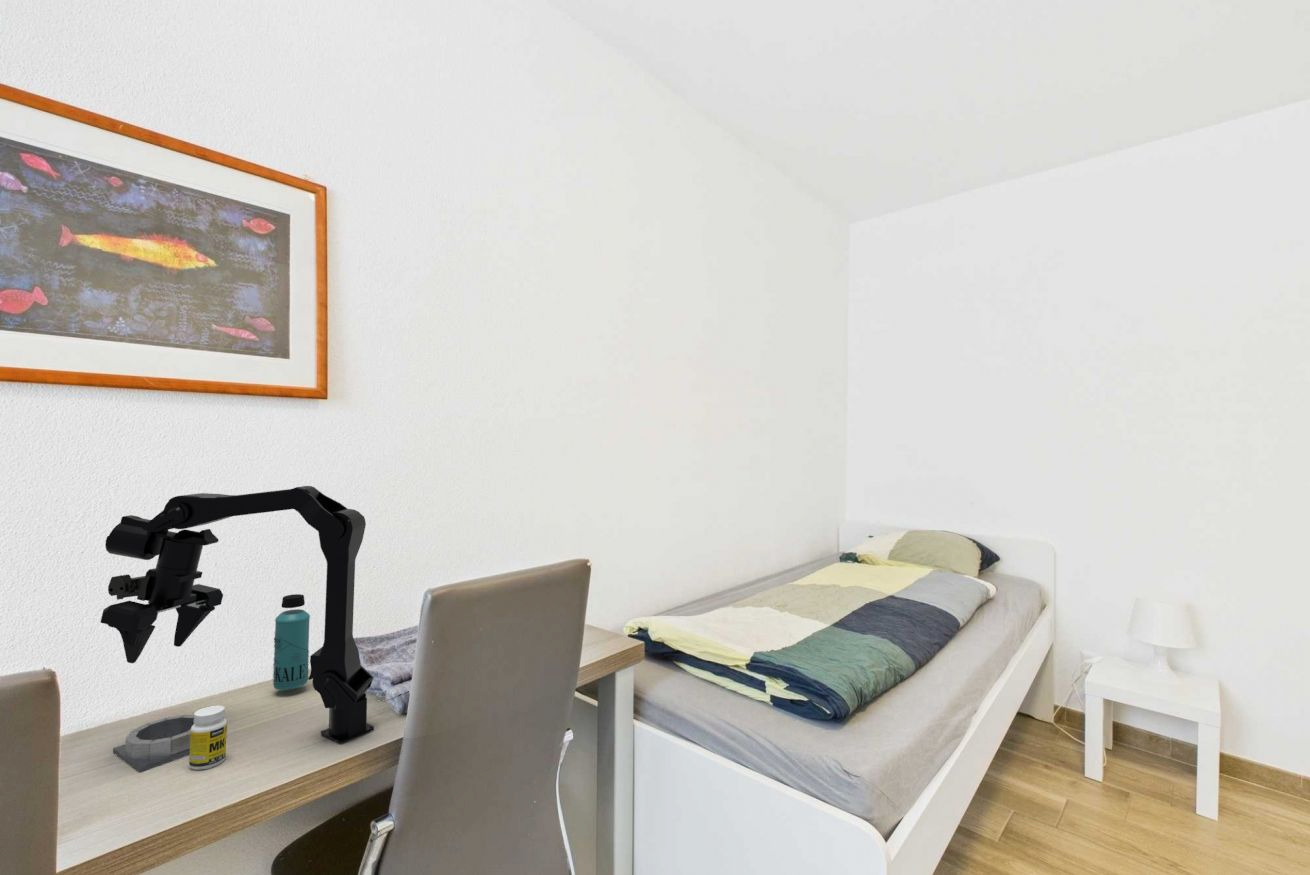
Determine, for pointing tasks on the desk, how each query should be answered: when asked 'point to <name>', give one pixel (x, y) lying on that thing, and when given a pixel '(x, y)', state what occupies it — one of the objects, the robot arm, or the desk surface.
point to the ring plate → (157, 742)
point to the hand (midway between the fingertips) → (155, 654)
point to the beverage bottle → (291, 645)
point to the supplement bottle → (208, 738)
